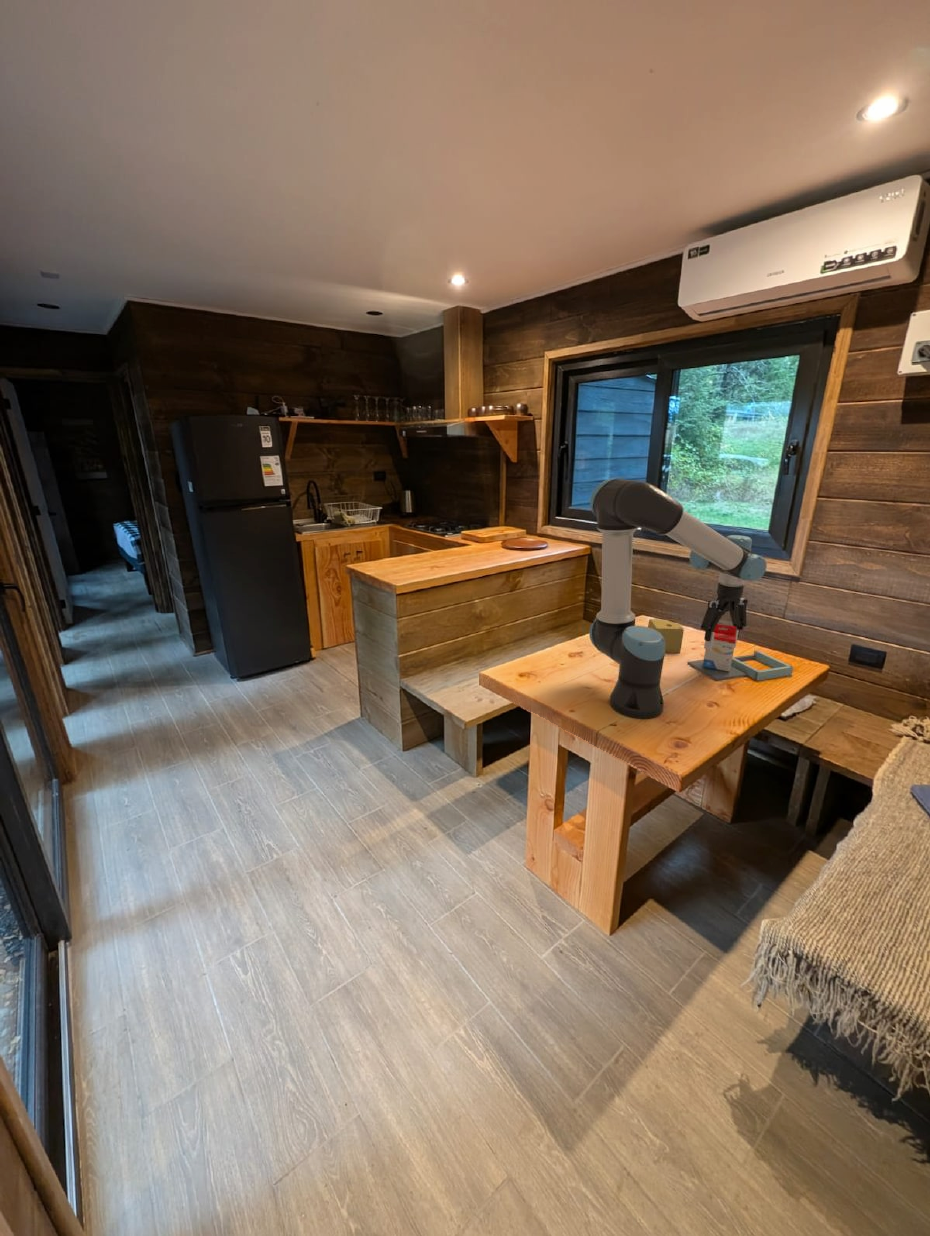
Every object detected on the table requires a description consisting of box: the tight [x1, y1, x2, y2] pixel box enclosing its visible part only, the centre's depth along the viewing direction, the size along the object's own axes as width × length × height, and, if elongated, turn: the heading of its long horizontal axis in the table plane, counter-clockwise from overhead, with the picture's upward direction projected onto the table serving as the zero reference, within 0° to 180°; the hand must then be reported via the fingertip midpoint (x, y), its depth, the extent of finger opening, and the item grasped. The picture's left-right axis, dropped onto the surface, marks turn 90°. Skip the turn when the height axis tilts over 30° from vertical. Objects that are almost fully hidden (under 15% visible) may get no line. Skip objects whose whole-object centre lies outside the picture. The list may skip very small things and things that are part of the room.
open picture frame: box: [731, 649, 794, 682], centre depth 173 cm, size 14×15×3 cm
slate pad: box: [687, 659, 747, 682], centre depth 173 cm, size 12×14×1 cm
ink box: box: [703, 623, 737, 671], centre depth 170 cm, size 8×5×15 cm, turn 62°
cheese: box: [647, 618, 685, 654], centre depth 190 cm, size 10×11×10 cm
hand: (719, 647), depth 170 cm, fingers closed on ink box, 9 cm apart
